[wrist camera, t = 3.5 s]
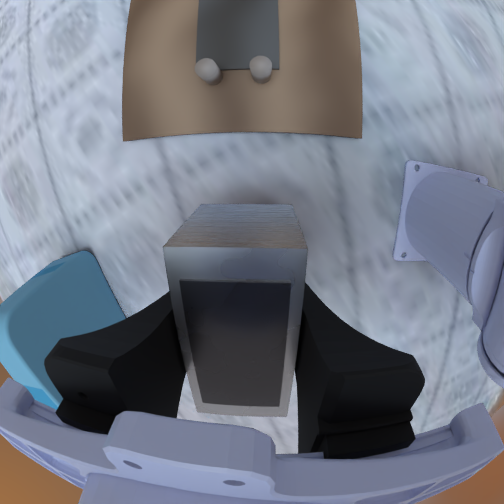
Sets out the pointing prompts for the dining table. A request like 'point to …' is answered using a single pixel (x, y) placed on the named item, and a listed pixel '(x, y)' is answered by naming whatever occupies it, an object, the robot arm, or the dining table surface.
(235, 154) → the dining table surface
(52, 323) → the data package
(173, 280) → the block
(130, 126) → the pin tray
